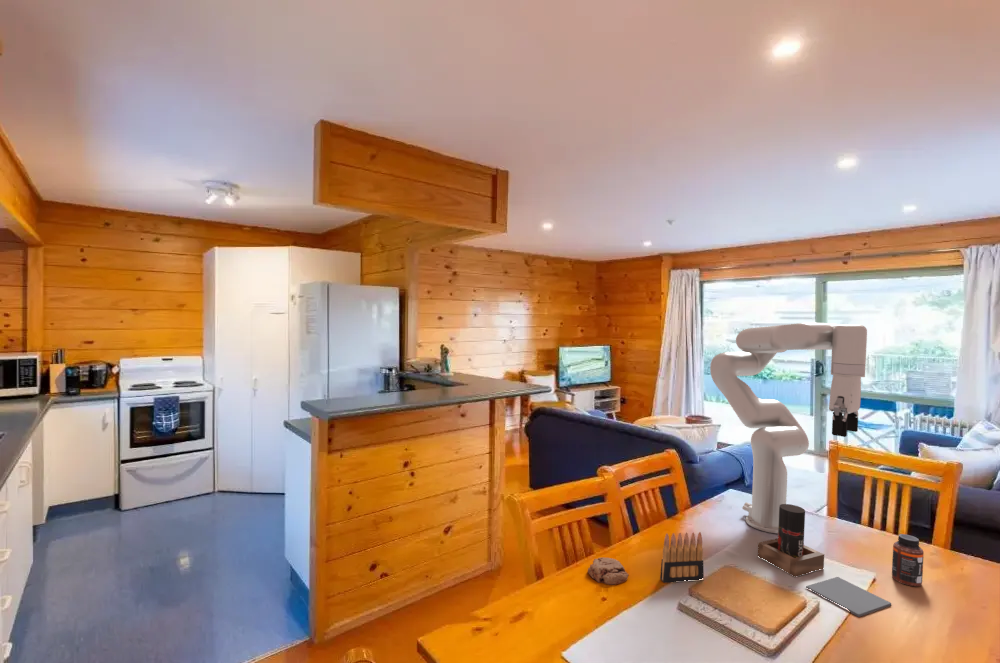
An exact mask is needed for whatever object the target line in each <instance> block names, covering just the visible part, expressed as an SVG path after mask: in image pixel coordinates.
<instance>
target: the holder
mask: <svg viewBox="0 0 1000 663" xmlns="http://www.w3.org/2000/svg"><path fill="white" fill-rule="evenodd" d="M757 556H759V557H760V558H763V559H765V560H767V561H768V562H770V563H772V564H774V565H775V566H777V567H779V568H781V569H783V570H784V571H783V570H782V571H783V572H785V571H786V572H785V573H787V572H788V573H789V575H790V574H791V575H790V576H792V575H793V576H792V577H794V576H795V577H794V578H797V577H796V576H798V577H801V576H803V575H802V574H805V575H807V574H806V573H808V574H810V573H809V572H811V571H815V570H819V569H823V568H824V567H825V554H824V553H822V552H821V551H818V550H816V549H813V548H811V547H809V546H807V545H805V544H804V549H803V556H800V557H796V558H793V557H791V556H789V555H787V554H785V553H783V552H781V551H779V550H778V537H777V538H776V537H775V538H773V539H768V540H764V541H761V542H758V543H757ZM757 556H756V557H757ZM760 558H759V559H760ZM768 562H767V563H768ZM770 563H769V564H770ZM772 564H771V565H772ZM775 566H774V567H775ZM777 567H776V568H777ZM779 568H778V569H779ZM781 569H780V570H781ZM824 569H825V568H824ZM824 569H823V570H824ZM819 571H820V570H819ZM788 573H787V574H788ZM800 575H801V576H800Z"/></svg>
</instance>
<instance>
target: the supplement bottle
mask: <svg viewBox="0 0 1000 663" xmlns="http://www.w3.org/2000/svg"><path fill="white" fill-rule="evenodd" d="M897 539H898V540H897V541H895V542H893V546H892V561H891V562H892V564H891V565H892V567H891V576H892V578H893V579H894V580H895V581H897V582H898V583H901V584H903V585H906V586H910V587H920V586H922V584H923V574H924V573H923V572H924V556H925V554H924V550H923V549H922V548H921V546H920V540H919V538H917V537H916V536H913V535H909V534H906V533H905V534H903V533H899V534H898V538H897Z"/></svg>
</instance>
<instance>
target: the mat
mask: <svg viewBox="0 0 1000 663" xmlns="http://www.w3.org/2000/svg"><path fill="white" fill-rule="evenodd" d="M806 588H808V589H811V590H812V591H814V592H816V593H818V594H820V595H822V596H823V597H825V598H827V599H829V600H831V601H833V602H835V603H837V604H839V605H841V606H843V607H845V608H847V609H848V610H849V611H850V612H851V613H850V612H849V613H850V614H852V615H854V616H856V617H858V618H859V617H863V616H866V615H868V614H871V613H874V612H878V611H881V610H882V609H886V608H888V607H890V606H892V602H891V601H888V600H886V599H884V598H882V597H880V596H878V595H875V594H874V593H872V592H870V591H867V590H866V589H863V588H861V587H860V586H858V585H855V584H854V583H851V582H849V581H847V580H845V579H844V578H842V577H839V576H836V577H833V578H829V579H825V580H822V581H818V582H815V583H812V584H808V585H806V586H805V589H806ZM808 589H807V590H808ZM812 591H811V592H812ZM823 597H822V598H823Z"/></svg>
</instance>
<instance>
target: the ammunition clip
mask: <svg viewBox="0 0 1000 663" xmlns="http://www.w3.org/2000/svg"><path fill="white" fill-rule="evenodd" d="M696 540H697V541H696ZM703 550H704V548H703V537H702V533H701V531H699V532H698V535H697V538H696V534H695V532H694V531H692V533H691V536H690V538H689V533H688V532H685V533H684V538H683V536H682V533H681V532H679V533H678V535H677V540H676V534H675V533H674V532H673V533H672V535H671V536H669V534H668V533H666V534H665V537H664V542H663V548H662V559H661V564H660V566H661V567H660V575H659V576H660V577H659V579H660V580H661V581H662V582H663V583H664V584H668V583H669V584H670V583H671V582H673V583H677V582H676V581H684V580H686V581H688V580H699V579H702V578H704V560H703V558H704V557H703V553H704V552H703Z"/></svg>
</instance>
